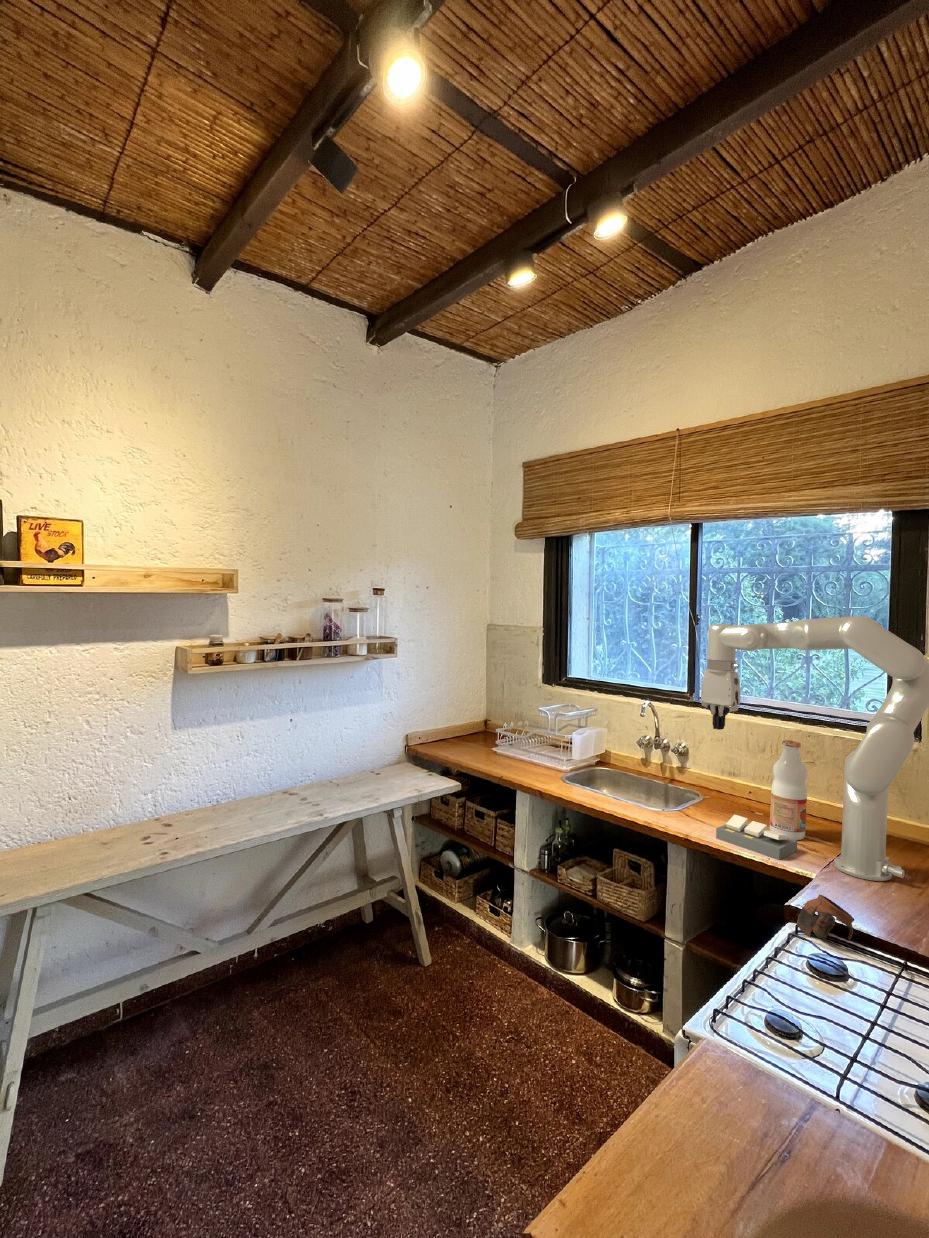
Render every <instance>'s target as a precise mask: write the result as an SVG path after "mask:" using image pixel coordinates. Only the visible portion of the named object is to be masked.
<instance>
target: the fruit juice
mask: <svg viewBox="0 0 929 1238" xmlns="http://www.w3.org/2000/svg"><path fill="white" fill-rule="evenodd" d="M801 745H802V744H801V742H799V741H796V740H787V739H785V740H782V742H781V747H782V750H781V751H782V752H781V754H780V757H779V758H778V759H777V760H776V761H775V763H774V764H773V766H772V767H773V768H772V774H773V781H772V783H771V791H770V793H771V794H770V810H769V811H770V812H769V813H770V815H769V831H771V830H773V831H776V832H779V833H782V834H786V835H787V838H790V839H794V840H797V841H799V840H804V839H805V837H806V825H807V824H806V822H807V820H806V819H807V803H808V802H807V801H808V800H807V799H808V790H807V785H806V780H807V779H808V770H807V767H806V766H805V764H804V763H803V761H802V758H801V755H800V749H801Z"/></svg>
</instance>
